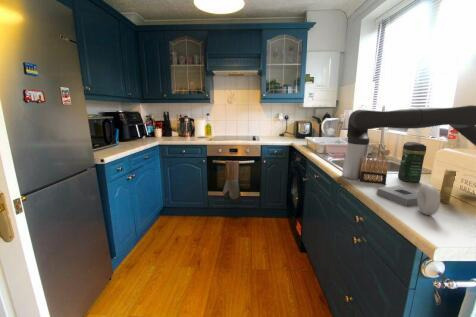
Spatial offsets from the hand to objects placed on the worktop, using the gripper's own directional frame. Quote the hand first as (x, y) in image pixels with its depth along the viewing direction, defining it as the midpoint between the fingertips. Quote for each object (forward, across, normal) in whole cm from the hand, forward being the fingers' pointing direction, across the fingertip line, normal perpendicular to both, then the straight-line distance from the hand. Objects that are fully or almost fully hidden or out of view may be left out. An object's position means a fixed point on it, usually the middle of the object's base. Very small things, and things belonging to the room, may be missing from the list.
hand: (466, 180), depth 86 cm
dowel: (+11, 0, +7) cm, 13 cm away
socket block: (+23, -7, +7) cm, 25 cm away
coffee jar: (-3, -23, +7) cm, 24 cm away
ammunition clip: (+18, -25, +7) cm, 32 cm away
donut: (+29, +5, +7) cm, 30 cm away
